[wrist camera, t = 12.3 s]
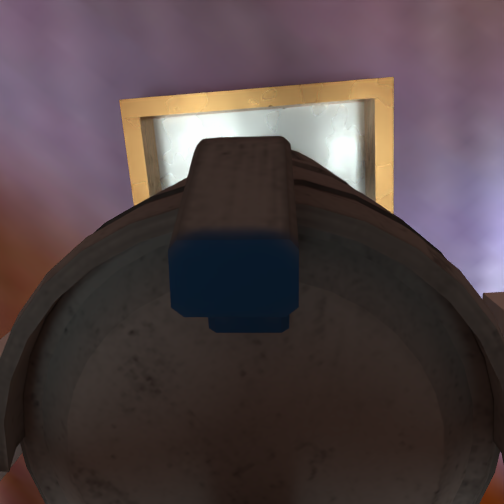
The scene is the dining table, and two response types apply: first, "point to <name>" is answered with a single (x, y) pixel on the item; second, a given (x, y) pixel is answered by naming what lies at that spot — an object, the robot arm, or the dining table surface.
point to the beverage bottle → (255, 350)
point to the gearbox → (268, 131)
